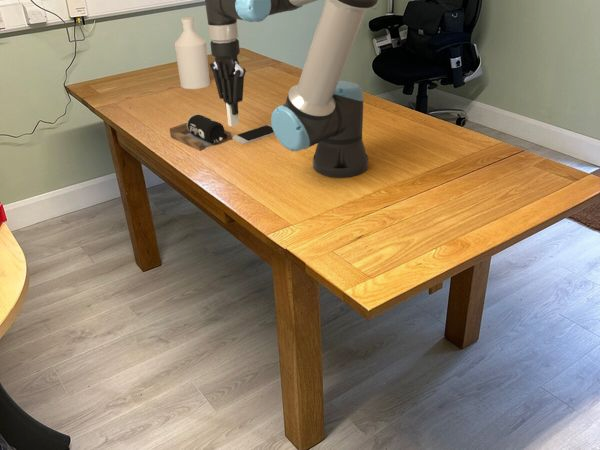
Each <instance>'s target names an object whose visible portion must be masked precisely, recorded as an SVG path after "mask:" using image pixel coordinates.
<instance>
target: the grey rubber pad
mask: <svg viewBox="0 0 600 450" xmlns="http://www.w3.org/2000/svg"><path fill="white" fill-rule="evenodd" d="M186 136H189V137H191V138H193V139H195V140H198V141H200V142H202V143H203V144H204V149H205V148H207V147H209V146H212V145H214V144H212V143H209V142H207V141H205V140H203V139H201V138H199V137H197V136H195V135H193V134H191V133H189V134H186ZM225 140H226V139H225V138H222V140H221V141H220V142H219V143H221V142H223V141H225Z"/></svg>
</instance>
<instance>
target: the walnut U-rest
mask: <svg viewBox="0 0 600 450" xmlns="http://www.w3.org/2000/svg"><path fill="white" fill-rule="evenodd" d="M169 133H170V139H172V140H173V139H174V140H175V141H178V142H180V143H182V144H185V145H187V146H189V147H191V148H193V149H195V150H197V151H203V150H205V148H204V144H203V143H202V142H200V141H198V140H195V139H193V138H191V137H189V136H186V134H189V133H190V131H189V130H188V128H187V122H185V123H182V124H179V125H176V126H173V127H169ZM232 136H233V135H232V132H230V131H228V130H225V129H224V137H223V138H225V140H227V141H230V140H233V139H232Z"/></svg>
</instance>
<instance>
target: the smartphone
mask: <svg viewBox="0 0 600 450" xmlns="http://www.w3.org/2000/svg"><path fill="white" fill-rule="evenodd" d="M272 135H275V133H274V131H273V128H272V124H271V123H269V124H265V125H262V126H259V127H256V128H253V129H250V130H246V131H243V132H241V133H238V134H235V135H232V139H231V140H234V141H236V142H238V143H240V144H242V145H245V144H249V143H252V142H254V141H258V140H261V139H263V138H267V137H270V136H272Z"/></svg>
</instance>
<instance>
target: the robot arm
mask: <svg viewBox="0 0 600 450" xmlns="http://www.w3.org/2000/svg"><path fill="white" fill-rule="evenodd" d="M317 1H318V0H204V5H205V11H206V18H207V26H208V36H209V37H208V38H209V40H211V41H210V44H209V45H210V49H211V50H210V51H211V52H210V53H211V55H212V56H213V57H214V62H211V63H210V64H209V68H210V69H211V71H212V74H213V78H214V80H215V86H216V89H217V94H218V96H219V99H221V100H223V102H224V103H225V112H226V115H227V125H228V126H229V127H234V126H237V125H239V124H240V121H239V102H243V98H244V96H243V95H244V83H245V82H244V81H245V75H246V72H247V70H246V68H245V67H244V68H243V67H241V66H240V63H239V59H238V55H239V54H240V52H241V50H240V49H241V48H240V41H239V39H238V37H239V31H238V23H237V22H238V20H240V21H245V22H248V23H249V22H250V23H253V22H254V23H259V22H263V21H265V19H267V17H268V16H273V15H275V14H282V13H285V12H290V11H291V12H292V11H294V10H297V9H300V8H302V7H303V6H304V5H305V6H306V5H308V4H310V3H315V2H317ZM378 2H379V0H325V1H324V4H323V8H322V9H321V14H320V16H319V19H318V22H317V26H316V29H315V31H314V33H313V34H314V35H313V38H312V41H311V44H310V46H309V50H308V53H307V57H306V60H305V62H304V66H303V68H302V72H301V75H300V77H299V81H298V83H297V84H294V85H293V86H292V87H290V88H289V91H288V93H287V96H286V100H285V103H284V104H283V105H277V107H276V108H274V110H273V111H272V113H271V117H270V118H271V119H270V121H271V123H270V124H272V128H273V131H274V133H275V134H274V135H275V136H274V137H276V138H275V139H277V140H278V142H279V144H280V145H282V147H283V148H285V149H287V150H288V151H292V152H300V151H303V150H307V149H309V148H311V147H312V146H315V145H316V147H315V152H314V154H313V157H312V168H313V170H315V172H316V173H318V174H321V175H322V176H326V177H331V178H348V177H349V178H350V177H351V178H352V177H356V176H358V175H361V174H363V173H364V172H366V171H367V170H368V168H369V156H368V154H367V152H366V147H365V143H364V141H363V125H364V124H363V123H364V120H363V119H364V101H365V100H364V90H363V88H362V87H361V85H359V84H358V83H355V82H352V81H346V80H340V79H341V76H342V73H343V71H344V68H345V67H346V63H347V61H348V58H349V55H350V53H351V50H352V48H353V45H354V43H355V40H356V37H357V35H358V32H359V29H360V27H361V25H362V22H363V19H364V17H365V14H366V11H368V10H370V9H373V8H375V6H376V5H377V3H378Z"/></svg>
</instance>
